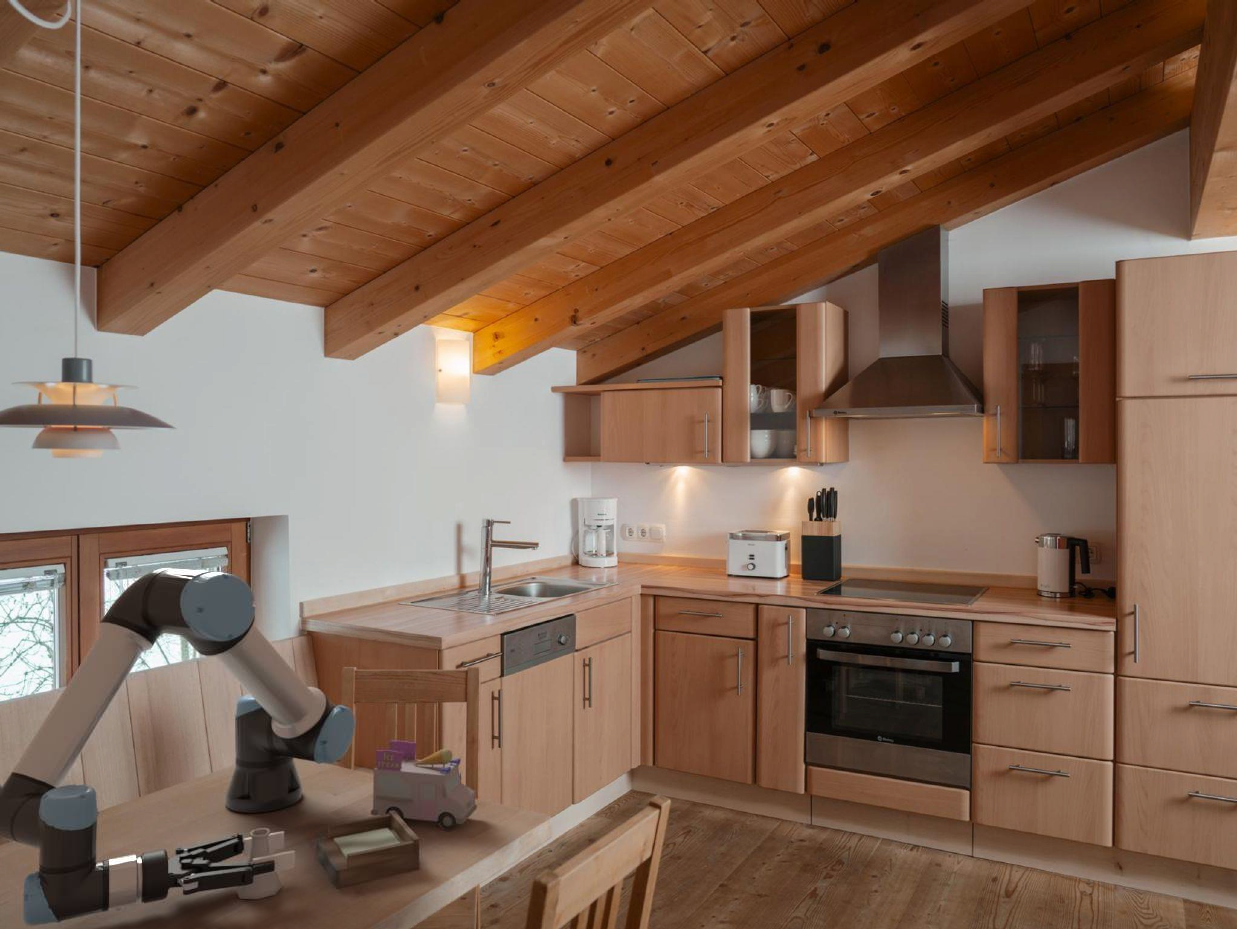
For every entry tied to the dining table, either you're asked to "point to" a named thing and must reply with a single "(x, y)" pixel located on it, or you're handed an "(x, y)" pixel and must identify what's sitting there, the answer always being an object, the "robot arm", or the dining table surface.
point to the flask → (262, 883)
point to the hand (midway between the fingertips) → (288, 849)
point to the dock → (368, 849)
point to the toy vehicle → (421, 786)
